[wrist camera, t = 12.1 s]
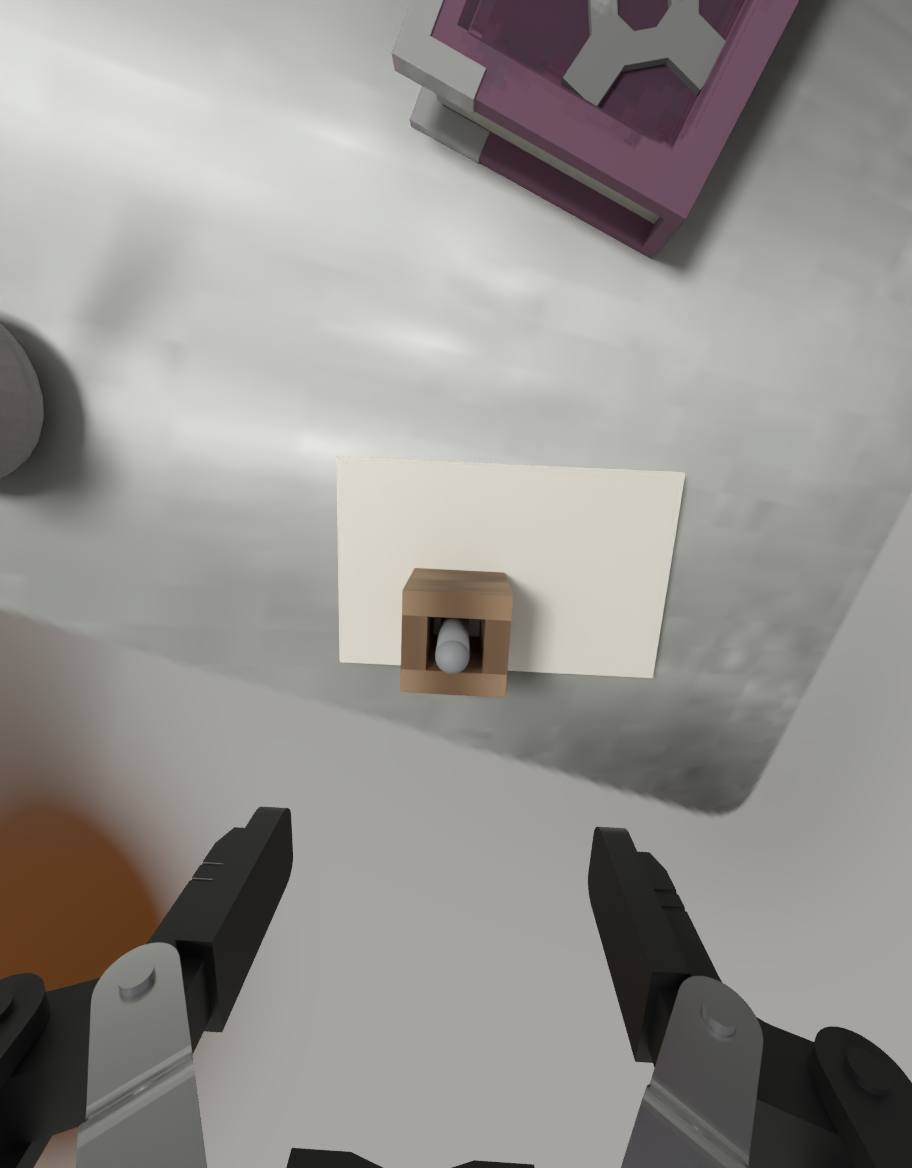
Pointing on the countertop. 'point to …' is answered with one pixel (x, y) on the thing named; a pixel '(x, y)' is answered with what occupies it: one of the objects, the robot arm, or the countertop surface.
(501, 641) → the brown wooden hollow cube
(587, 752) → the countertop surface
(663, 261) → the countertop surface
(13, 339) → the coffee pot
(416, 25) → the book
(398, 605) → the board
